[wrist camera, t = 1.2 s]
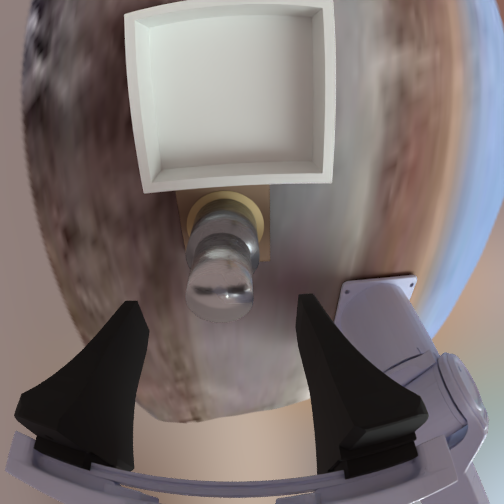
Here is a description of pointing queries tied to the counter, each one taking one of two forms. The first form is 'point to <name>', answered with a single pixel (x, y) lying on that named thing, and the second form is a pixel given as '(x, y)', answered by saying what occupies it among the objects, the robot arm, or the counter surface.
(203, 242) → the silver metal knob
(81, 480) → the robot arm
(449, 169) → the counter surface
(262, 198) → the stud block
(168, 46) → the bin
